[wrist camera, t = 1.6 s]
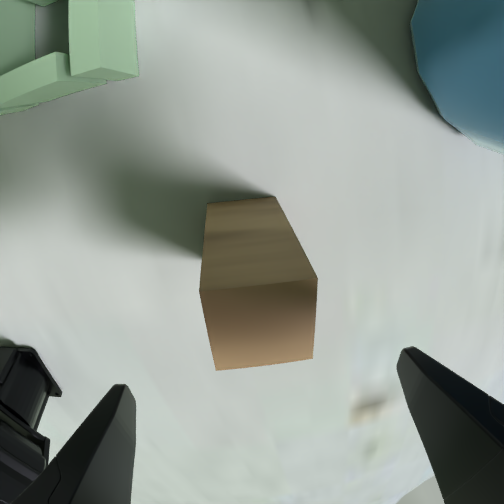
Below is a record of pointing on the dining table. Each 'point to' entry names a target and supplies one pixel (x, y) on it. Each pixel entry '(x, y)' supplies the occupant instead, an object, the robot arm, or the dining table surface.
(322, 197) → the dining table surface
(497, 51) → the wine bottle
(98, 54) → the green open frame
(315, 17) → the dining table surface
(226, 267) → the walnut peg
